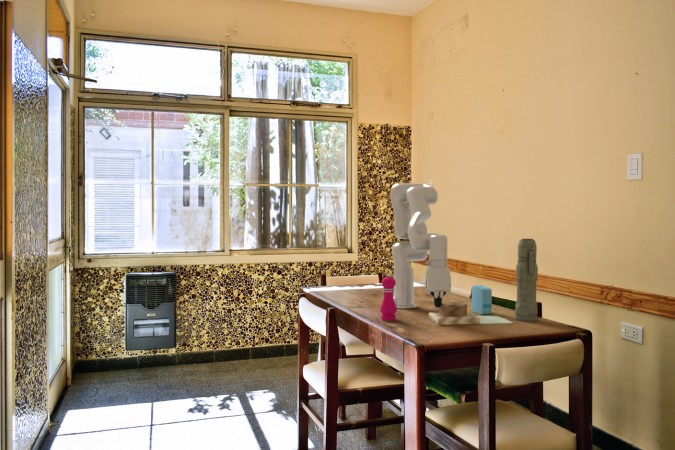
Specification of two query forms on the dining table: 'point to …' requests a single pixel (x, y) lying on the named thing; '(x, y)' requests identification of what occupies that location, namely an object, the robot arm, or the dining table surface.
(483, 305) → the data package
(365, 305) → the dining table surface
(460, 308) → the walnut box
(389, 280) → the pepper mill
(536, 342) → the dining table surface
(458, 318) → the board
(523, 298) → the stone moai statue
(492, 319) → the mat
